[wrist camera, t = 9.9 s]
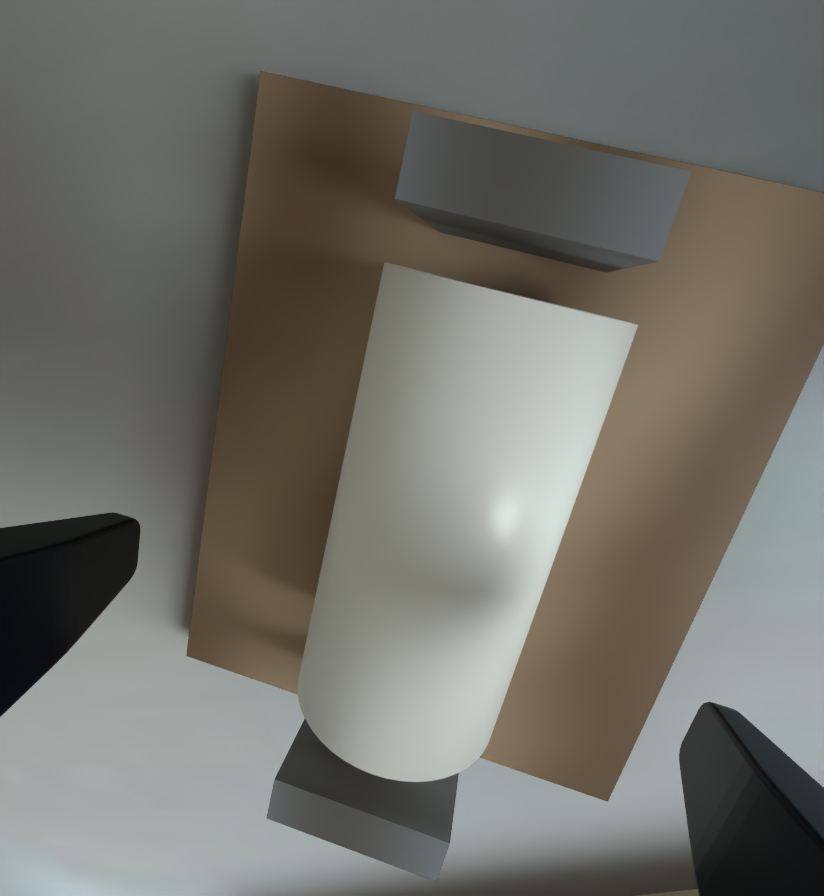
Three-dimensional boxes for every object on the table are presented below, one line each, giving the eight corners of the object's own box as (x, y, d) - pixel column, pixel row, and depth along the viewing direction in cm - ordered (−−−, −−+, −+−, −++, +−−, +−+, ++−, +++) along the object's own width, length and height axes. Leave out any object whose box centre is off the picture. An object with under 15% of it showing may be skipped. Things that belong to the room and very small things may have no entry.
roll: (615, 318, 13) (668, 333, 8) (497, 661, 16) (486, 816, 11) (412, 268, 13) (350, 255, 9) (336, 607, 17) (261, 733, 12)
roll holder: (859, 212, 12) (1153, 146, 7) (602, 773, 18) (643, 1005, 12) (278, 86, 14) (109, -58, 8) (202, 637, 19) (68, 785, 13)
